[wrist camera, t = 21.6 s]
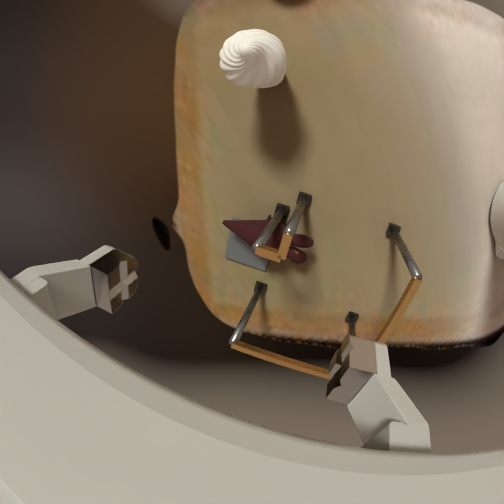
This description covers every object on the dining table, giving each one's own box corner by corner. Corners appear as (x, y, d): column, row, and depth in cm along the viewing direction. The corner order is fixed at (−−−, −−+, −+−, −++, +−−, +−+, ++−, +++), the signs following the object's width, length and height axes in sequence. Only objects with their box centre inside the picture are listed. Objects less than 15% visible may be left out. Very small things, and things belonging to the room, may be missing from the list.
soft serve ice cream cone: (237, 84, 39) (191, 65, 25) (261, 44, 35) (225, 8, 21) (281, 107, 39) (254, 93, 25) (307, 65, 35) (292, 31, 21)
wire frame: (400, 226, 41) (429, 275, 26) (354, 321, 51) (354, 388, 36) (282, 186, 44) (254, 215, 29) (254, 289, 54) (224, 347, 39)
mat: (276, 231, 48) (275, 232, 47) (265, 269, 52) (265, 271, 51) (233, 217, 49) (232, 218, 49) (226, 256, 53) (225, 257, 52)
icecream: (229, 223, 50) (308, 250, 49) (212, 251, 46) (299, 282, 44) (232, 193, 45) (319, 222, 43) (214, 220, 40) (312, 254, 39)
